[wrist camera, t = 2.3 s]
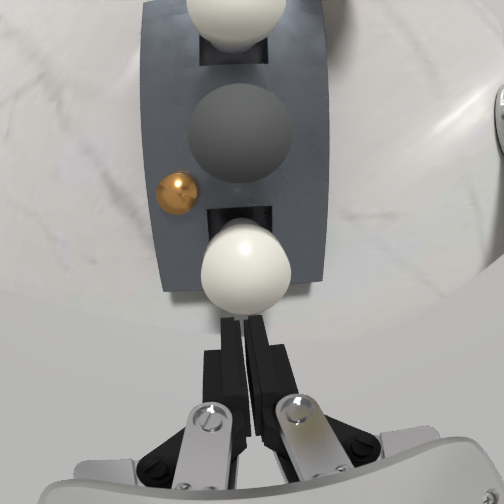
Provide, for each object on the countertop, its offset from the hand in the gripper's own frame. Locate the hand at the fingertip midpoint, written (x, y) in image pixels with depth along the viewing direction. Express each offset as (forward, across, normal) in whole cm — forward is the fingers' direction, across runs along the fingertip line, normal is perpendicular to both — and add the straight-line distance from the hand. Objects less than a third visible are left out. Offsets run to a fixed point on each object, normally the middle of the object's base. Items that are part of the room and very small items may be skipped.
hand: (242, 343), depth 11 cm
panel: (+15, -1, -8) cm, 17 cm away
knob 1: (+11, -1, -16) cm, 20 cm away
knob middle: (+11, -1, -8) cm, 14 cm away
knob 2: (+11, -1, 0) cm, 11 cm away
